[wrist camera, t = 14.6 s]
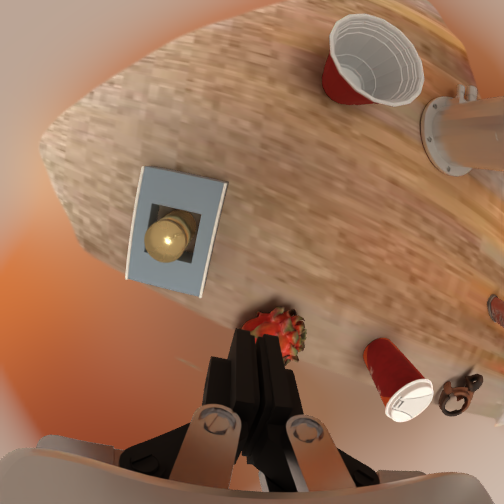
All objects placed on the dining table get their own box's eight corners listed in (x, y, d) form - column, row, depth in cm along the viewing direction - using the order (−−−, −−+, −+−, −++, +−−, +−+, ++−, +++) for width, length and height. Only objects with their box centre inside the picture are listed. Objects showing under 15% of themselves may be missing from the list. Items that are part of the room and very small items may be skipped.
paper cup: (349, 364, 44) (378, 423, 31) (372, 327, 42) (412, 382, 29) (382, 371, 45) (414, 424, 32) (405, 337, 43) (446, 386, 30)
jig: (152, 165, 34) (141, 166, 30) (228, 181, 35) (227, 183, 31) (135, 267, 38) (125, 279, 34) (205, 284, 39) (201, 298, 35)
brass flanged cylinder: (166, 206, 36) (147, 216, 28) (199, 213, 36) (189, 225, 29) (160, 239, 37) (141, 257, 29) (193, 246, 38) (181, 267, 30)
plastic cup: (391, 84, 32) (440, 63, 20) (353, 138, 34) (399, 129, 23) (330, 35, 30) (362, -6, 18) (286, 86, 32) (307, 53, 21)
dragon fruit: (304, 299, 42) (243, 339, 46) (274, 283, 36) (207, 331, 39) (329, 349, 37) (262, 386, 40) (302, 343, 31) (225, 386, 34)
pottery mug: (449, 403, 52) (450, 425, 45) (429, 384, 54) (430, 405, 47) (486, 374, 46) (491, 395, 39) (467, 353, 48) (473, 373, 41)
